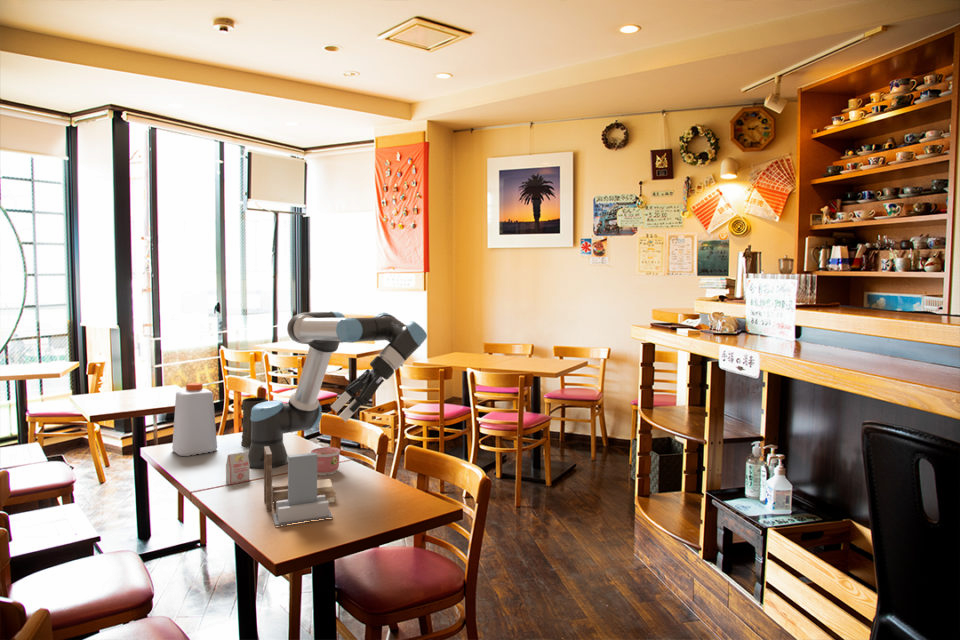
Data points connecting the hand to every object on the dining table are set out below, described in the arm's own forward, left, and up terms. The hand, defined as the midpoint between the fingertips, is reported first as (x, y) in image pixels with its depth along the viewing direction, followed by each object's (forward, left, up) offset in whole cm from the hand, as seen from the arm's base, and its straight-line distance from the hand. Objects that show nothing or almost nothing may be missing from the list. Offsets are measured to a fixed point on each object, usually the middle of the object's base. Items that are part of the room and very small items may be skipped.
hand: (337, 414), depth 176 cm
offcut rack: (0, -16, -30) cm, 34 cm away
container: (-26, -31, -30) cm, 50 cm away
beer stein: (-37, -83, -30) cm, 96 cm away
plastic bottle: (-17, -96, -30) cm, 102 cm away
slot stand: (+9, -5, -30) cm, 32 cm away
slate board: (+9, -5, -29) cm, 31 cm away
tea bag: (-2, -49, -30) cm, 57 cm away
